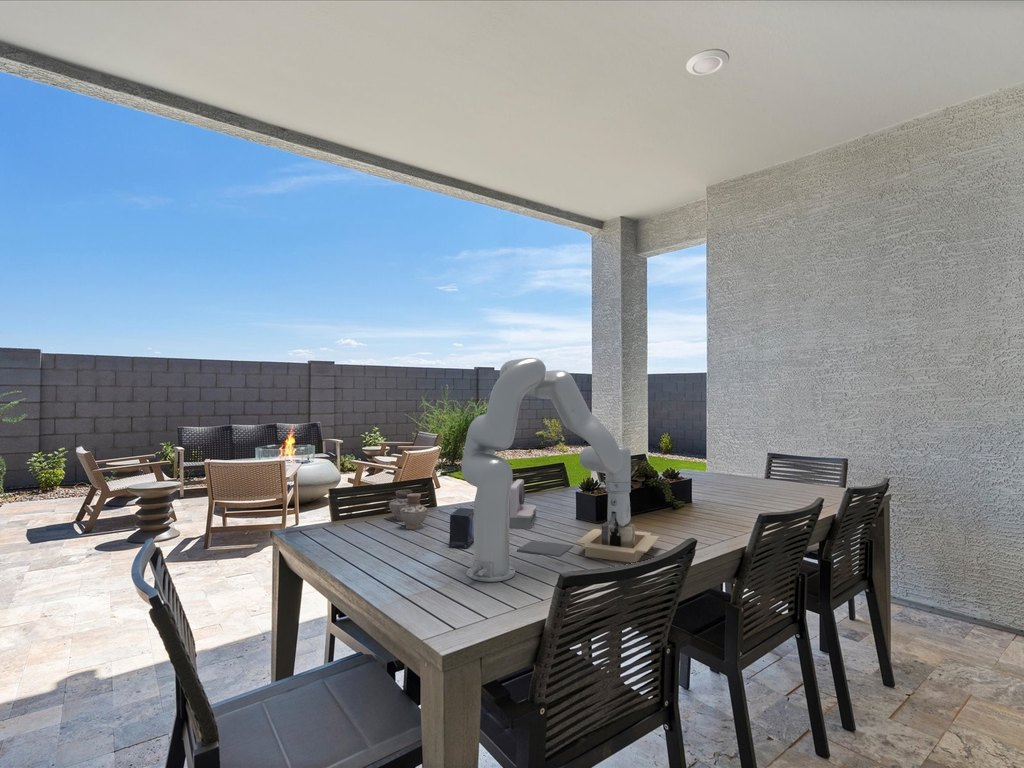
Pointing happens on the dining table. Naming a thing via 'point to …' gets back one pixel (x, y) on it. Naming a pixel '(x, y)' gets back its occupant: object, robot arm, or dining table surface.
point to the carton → (598, 550)
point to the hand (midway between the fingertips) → (618, 545)
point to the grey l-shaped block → (520, 507)
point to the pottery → (408, 509)
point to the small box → (461, 528)
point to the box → (625, 533)
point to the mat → (545, 548)
